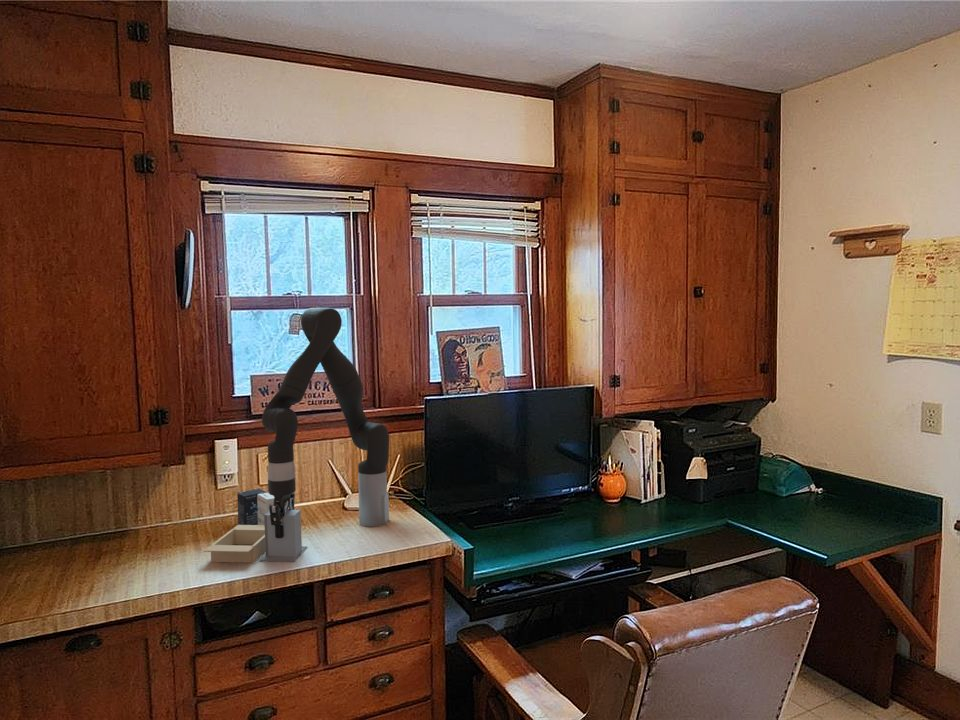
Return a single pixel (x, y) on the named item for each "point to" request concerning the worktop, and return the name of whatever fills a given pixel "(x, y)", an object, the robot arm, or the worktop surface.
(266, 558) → the mat
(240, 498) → the box
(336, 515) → the worktop surface
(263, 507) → the ink box
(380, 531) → the worktop surface
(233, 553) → the beige shallow rectangular tray
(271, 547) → the box
